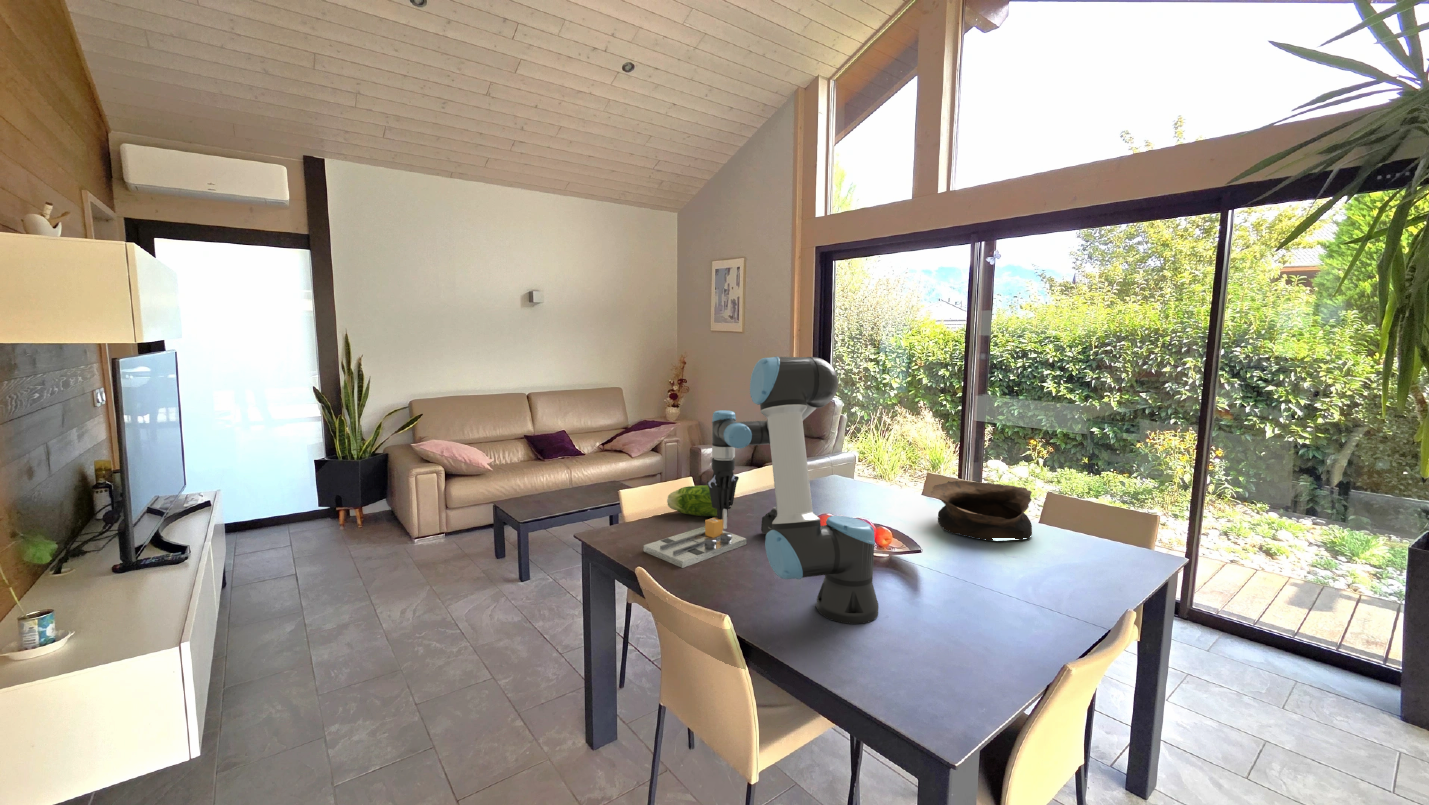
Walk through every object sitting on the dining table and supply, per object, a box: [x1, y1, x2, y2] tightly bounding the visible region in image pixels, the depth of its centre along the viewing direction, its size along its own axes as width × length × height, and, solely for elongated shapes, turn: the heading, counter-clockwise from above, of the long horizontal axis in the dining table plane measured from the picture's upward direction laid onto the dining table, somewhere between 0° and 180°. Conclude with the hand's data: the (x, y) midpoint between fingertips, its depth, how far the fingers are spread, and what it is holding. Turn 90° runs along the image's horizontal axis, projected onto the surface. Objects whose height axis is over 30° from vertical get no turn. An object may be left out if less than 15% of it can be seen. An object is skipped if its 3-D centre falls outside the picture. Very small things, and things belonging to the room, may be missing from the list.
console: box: [643, 525, 748, 569], centre depth 193 cm, size 18×28×4 cm, turn 135°
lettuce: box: [666, 484, 717, 518], centre depth 227 cm, size 12×21×11 cm, turn 86°
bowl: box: [930, 480, 1033, 541], centre depth 214 cm, size 34×33×15 cm
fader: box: [704, 517, 724, 538], centre depth 199 cm, size 4×4×5 cm
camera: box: [760, 506, 777, 535], centre depth 204 cm, size 13×10×10 cm
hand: (722, 527), depth 201 cm, fingers closed
